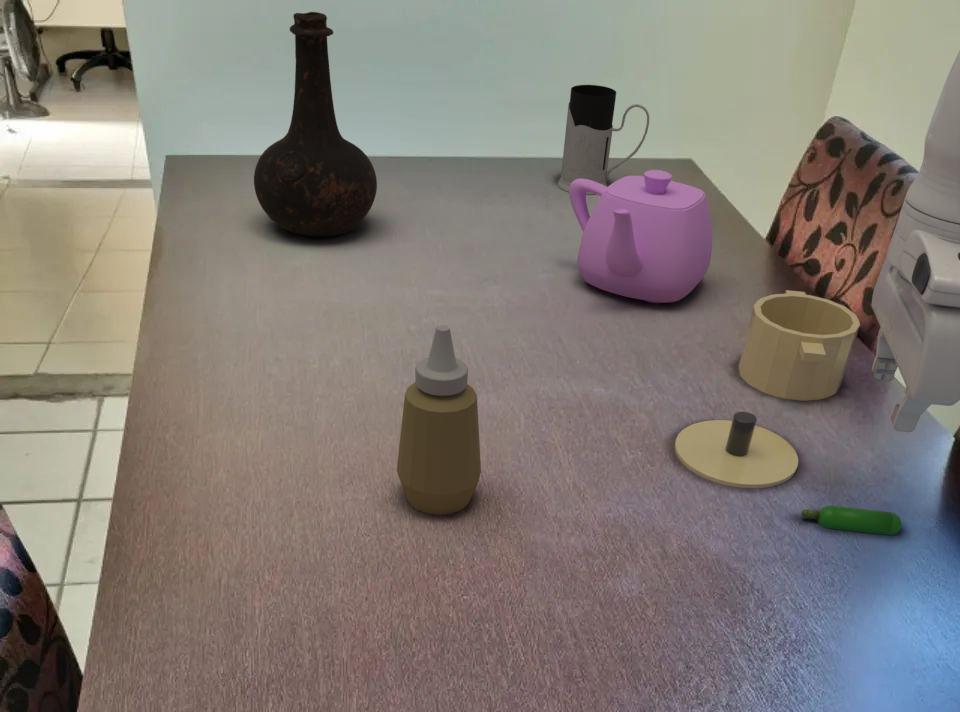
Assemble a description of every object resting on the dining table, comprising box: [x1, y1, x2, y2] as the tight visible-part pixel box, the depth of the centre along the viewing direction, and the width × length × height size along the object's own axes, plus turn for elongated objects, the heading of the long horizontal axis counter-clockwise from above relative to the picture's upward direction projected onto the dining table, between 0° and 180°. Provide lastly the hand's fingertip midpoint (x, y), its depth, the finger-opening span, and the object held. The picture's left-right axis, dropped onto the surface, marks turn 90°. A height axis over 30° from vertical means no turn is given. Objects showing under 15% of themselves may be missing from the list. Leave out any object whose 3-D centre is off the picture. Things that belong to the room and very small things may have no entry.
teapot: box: [568, 169, 713, 304], centre depth 132 cm, size 23×21×15 cm
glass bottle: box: [253, 11, 378, 238], centre depth 139 cm, size 18×18×28 cm
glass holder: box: [557, 84, 650, 196], centre depth 164 cm, size 9×14×15 cm, turn 75°
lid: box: [674, 411, 799, 489], centre depth 102 cm, size 13×13×5 cm
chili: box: [800, 505, 902, 536], centre depth 95 cm, size 10×2×2 cm, turn 83°
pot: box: [738, 289, 861, 402], centre depth 116 cm, size 12×17×8 cm
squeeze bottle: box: [396, 324, 482, 516], centre depth 89 cm, size 8×8×18 cm
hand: (890, 401), depth 87 cm, fingers open, 8 cm apart
